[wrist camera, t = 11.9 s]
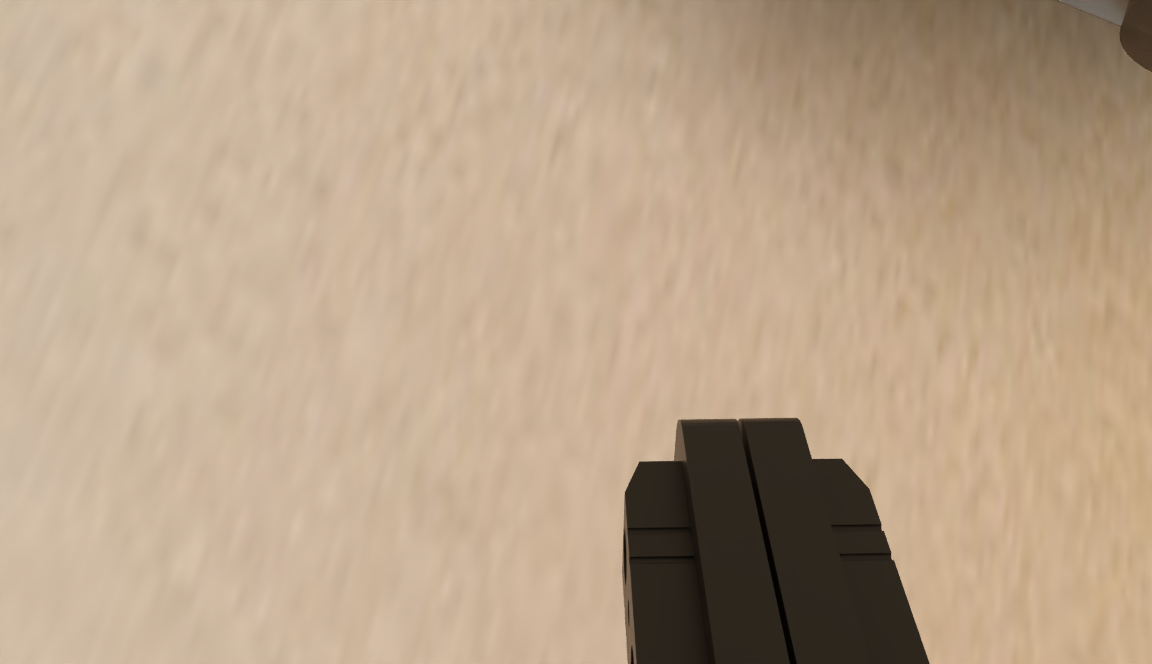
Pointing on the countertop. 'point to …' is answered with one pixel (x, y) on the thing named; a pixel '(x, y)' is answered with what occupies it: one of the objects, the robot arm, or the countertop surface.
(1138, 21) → the knob
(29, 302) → the countertop surface
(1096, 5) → the slotted grey stand
